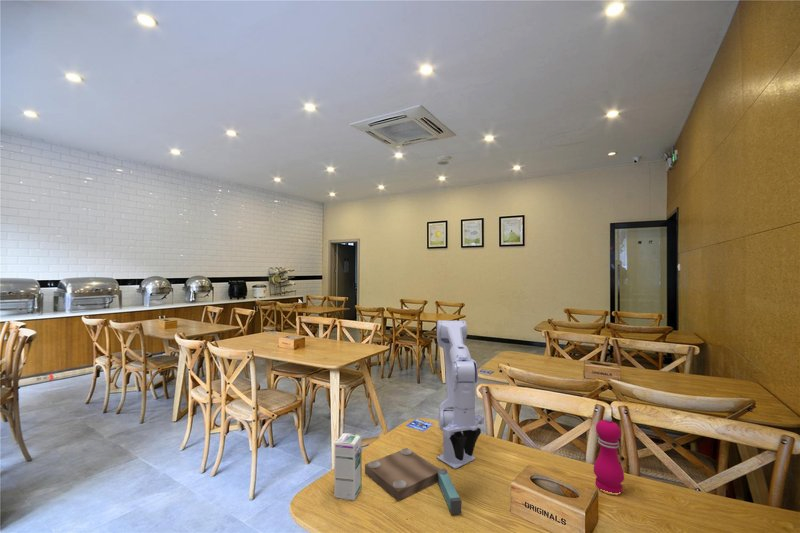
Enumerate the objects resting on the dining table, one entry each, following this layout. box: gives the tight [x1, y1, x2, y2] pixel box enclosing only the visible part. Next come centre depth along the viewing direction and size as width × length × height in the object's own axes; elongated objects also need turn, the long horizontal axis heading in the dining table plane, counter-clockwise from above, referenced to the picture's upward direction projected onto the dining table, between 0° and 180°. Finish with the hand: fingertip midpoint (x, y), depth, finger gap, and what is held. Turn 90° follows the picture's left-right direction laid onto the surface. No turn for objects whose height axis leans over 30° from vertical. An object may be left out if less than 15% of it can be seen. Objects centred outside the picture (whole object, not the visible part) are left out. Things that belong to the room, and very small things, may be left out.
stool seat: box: [364, 447, 440, 502], centre depth 100 cm, size 16×16×3 cm
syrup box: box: [334, 432, 363, 501], centre depth 92 cm, size 6×6×14 cm
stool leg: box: [437, 468, 462, 515], centre depth 91 cm, size 14×3×3 cm, turn 8°
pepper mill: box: [593, 414, 625, 493], centre depth 95 cm, size 7×7×20 cm
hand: (463, 456), depth 93 cm, fingers open, 3 cm apart
